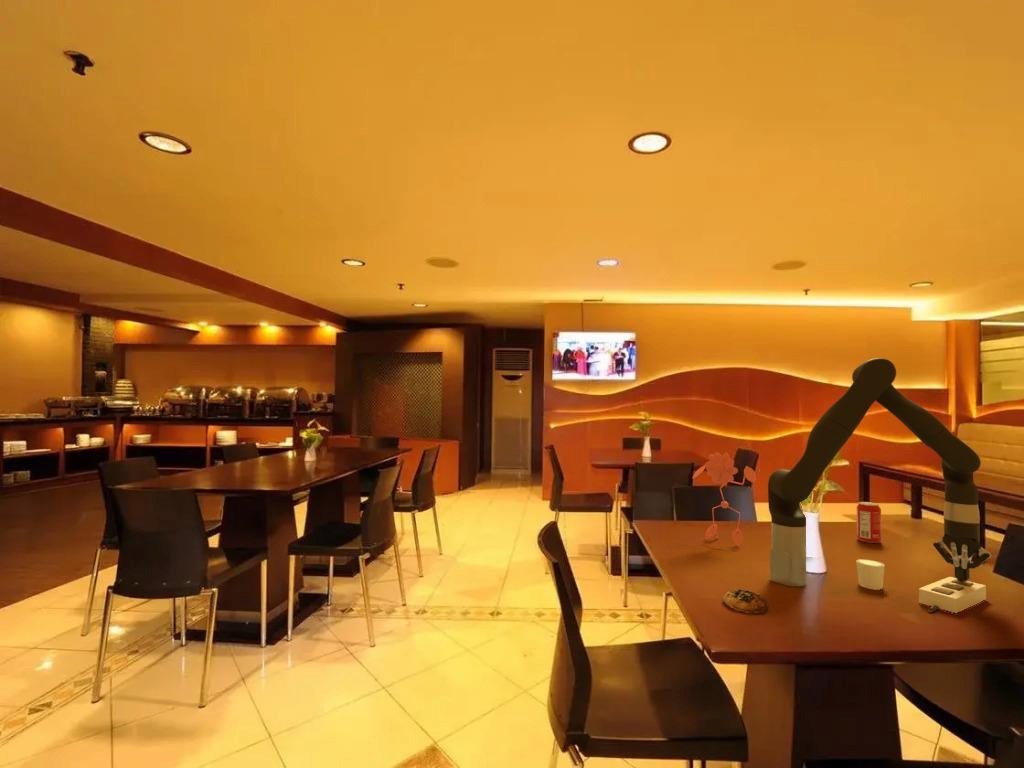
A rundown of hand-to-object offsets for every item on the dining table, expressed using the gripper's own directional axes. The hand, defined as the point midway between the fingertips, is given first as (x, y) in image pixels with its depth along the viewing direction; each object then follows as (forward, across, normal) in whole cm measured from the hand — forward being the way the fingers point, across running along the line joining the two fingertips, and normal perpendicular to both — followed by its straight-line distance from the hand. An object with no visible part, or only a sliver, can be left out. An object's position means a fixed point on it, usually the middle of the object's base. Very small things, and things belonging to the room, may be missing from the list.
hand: (962, 580), depth 141 cm
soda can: (+5, -42, +42) cm, 59 cm away
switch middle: (+3, 0, -6) cm, 7 cm away
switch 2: (+3, 0, 0) cm, 3 cm away
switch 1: (+3, 0, -13) cm, 13 cm away
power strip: (+5, 0, -9) cm, 10 cm away
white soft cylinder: (+5, -17, -14) cm, 22 cm away
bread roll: (+5, -26, -60) cm, 66 cm away
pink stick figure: (+5, -67, -16) cm, 69 cm away
